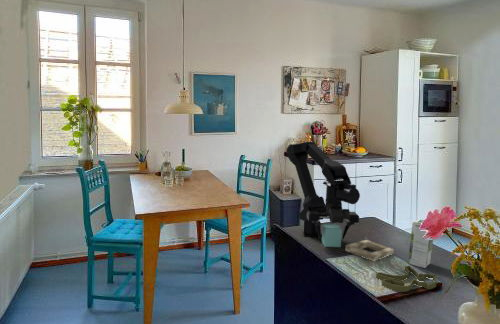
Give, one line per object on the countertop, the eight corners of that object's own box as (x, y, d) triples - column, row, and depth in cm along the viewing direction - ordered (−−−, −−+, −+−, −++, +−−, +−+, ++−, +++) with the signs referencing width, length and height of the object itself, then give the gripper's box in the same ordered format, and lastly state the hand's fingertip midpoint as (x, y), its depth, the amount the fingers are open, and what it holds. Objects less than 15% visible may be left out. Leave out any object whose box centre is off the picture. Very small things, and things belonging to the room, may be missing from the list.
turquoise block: (324, 246, 139) (325, 228, 138) (321, 241, 145) (322, 223, 144) (340, 247, 139) (341, 228, 138) (337, 241, 145) (338, 224, 144)
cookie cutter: (411, 270, 121) (412, 264, 120) (445, 286, 110) (446, 280, 110) (369, 279, 113) (370, 273, 113) (401, 298, 102) (401, 291, 102)
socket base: (372, 261, 126) (373, 254, 126) (342, 249, 137) (342, 242, 136) (395, 254, 134) (396, 247, 133) (365, 243, 144) (366, 236, 144)
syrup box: (412, 259, 129) (416, 218, 127) (431, 263, 126) (435, 221, 124) (407, 263, 125) (411, 221, 123) (426, 269, 121) (430, 225, 119)
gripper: (312, 202, 132) (310, 245, 134) (365, 204, 132) (362, 246, 134) (307, 195, 143) (305, 235, 145) (356, 197, 143) (353, 236, 145)
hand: (331, 238), depth 142 cm, fingers open, 8 cm apart
